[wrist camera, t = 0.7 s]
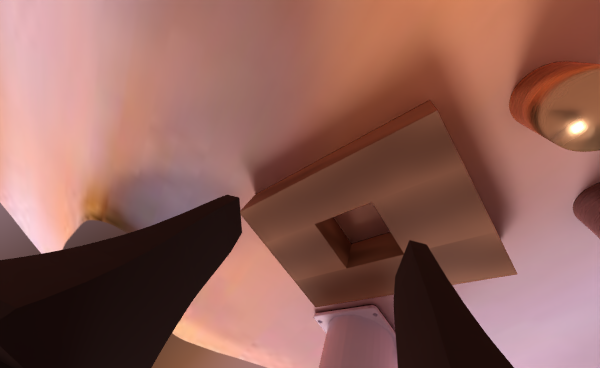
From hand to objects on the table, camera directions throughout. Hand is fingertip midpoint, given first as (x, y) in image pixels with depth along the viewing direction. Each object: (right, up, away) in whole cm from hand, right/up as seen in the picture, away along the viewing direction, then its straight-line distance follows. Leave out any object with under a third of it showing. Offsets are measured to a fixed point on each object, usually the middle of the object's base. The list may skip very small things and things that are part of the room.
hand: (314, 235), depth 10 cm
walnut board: (+5, -1, +10) cm, 11 cm away
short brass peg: (+13, +7, +3) cm, 15 cm away
